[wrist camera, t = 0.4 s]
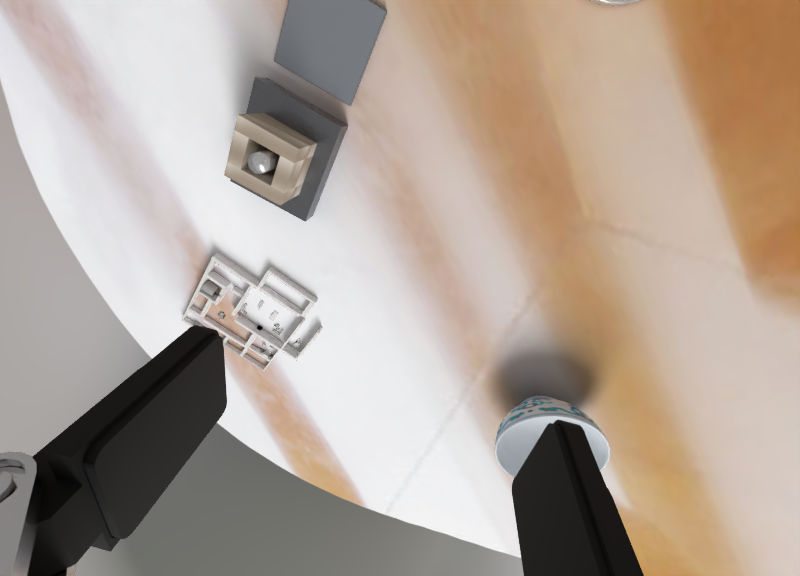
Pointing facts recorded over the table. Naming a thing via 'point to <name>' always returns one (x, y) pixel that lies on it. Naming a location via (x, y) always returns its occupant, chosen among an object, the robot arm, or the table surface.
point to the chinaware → (530, 423)
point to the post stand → (305, 122)
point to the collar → (280, 139)
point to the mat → (330, 42)
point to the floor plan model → (208, 291)
